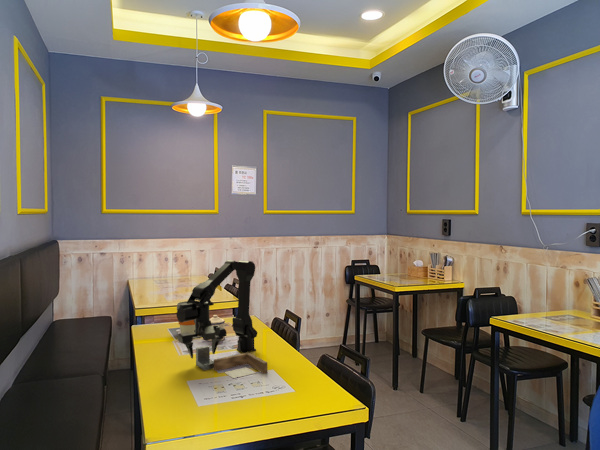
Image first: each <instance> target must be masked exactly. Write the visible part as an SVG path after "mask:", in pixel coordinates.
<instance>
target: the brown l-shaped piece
mask: <svg viewBox="0 0 600 450" xmlns="http://www.w3.org/2000/svg"><path fill="white" fill-rule="evenodd" d="M213 361H214V368H213V370H214V371H215V372H217V371H222V370H226V369H230V368H235V367H240V366H244V365H248V366H250V367H251V368H253V369H255V370H257V371H258V372H260V373H262V374H264V375H265V374H268V372H269V371H268V361H265V360H264V359H262V358H260V357H257V356H256V355H254V354H252V353H250V352H246V353H238V354H234V355H230V356H225V357H219V358H215V359H213Z"/></svg>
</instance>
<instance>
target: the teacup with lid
mask: <svg viewBox="0 0 600 450" xmlns="http://www.w3.org/2000/svg"><path fill="white" fill-rule="evenodd" d="M209 319H210V321H211V325H212V326H217V325H219V327H221V328H224V329H225V322H226V320H225V319H223V318H221V317H219V316H218V314H213V315H212V317H209ZM225 330H226V329H225ZM225 338H226V336H224V338H223V339H221V340H220V341H224V340H225ZM220 341H219V342H220ZM207 342H212V339H210V340H207Z"/></svg>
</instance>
